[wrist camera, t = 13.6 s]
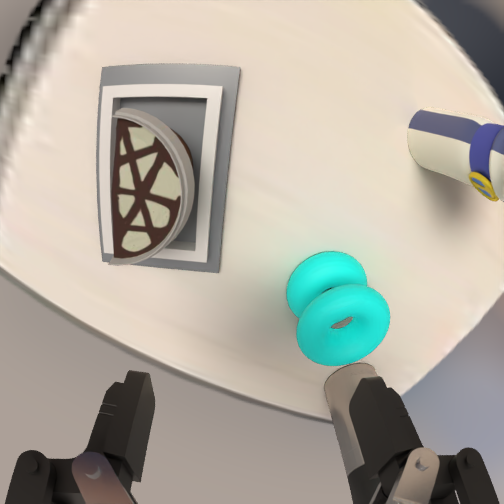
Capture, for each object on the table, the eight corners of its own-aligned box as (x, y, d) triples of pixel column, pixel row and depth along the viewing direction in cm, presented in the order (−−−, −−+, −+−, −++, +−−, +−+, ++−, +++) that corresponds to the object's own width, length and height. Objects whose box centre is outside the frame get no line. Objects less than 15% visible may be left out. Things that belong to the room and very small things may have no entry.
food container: (198, 231, 31) (183, 282, 22) (142, 224, 31) (108, 270, 22) (214, 113, 26) (202, 113, 17) (151, 107, 25) (112, 107, 16)
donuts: (309, 381, 30) (288, 316, 26) (295, 324, 39) (275, 261, 35) (394, 352, 29) (393, 281, 25) (365, 301, 38) (356, 236, 34)
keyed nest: (218, 268, 35) (217, 282, 32) (105, 257, 33) (96, 270, 31) (240, 68, 25) (240, 63, 22) (106, 68, 24) (93, 65, 21)
